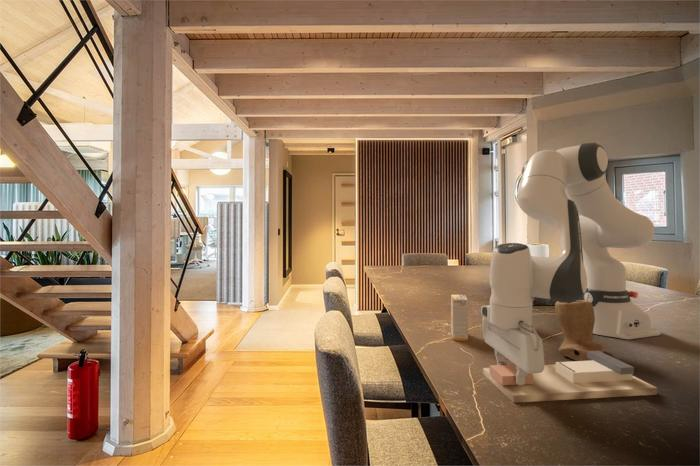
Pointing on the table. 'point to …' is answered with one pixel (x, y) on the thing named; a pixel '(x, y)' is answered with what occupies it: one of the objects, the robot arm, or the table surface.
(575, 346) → the brown suede boot
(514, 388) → the holder board
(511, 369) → the pink flat block
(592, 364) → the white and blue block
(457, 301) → the supplement box
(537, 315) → the table surface
